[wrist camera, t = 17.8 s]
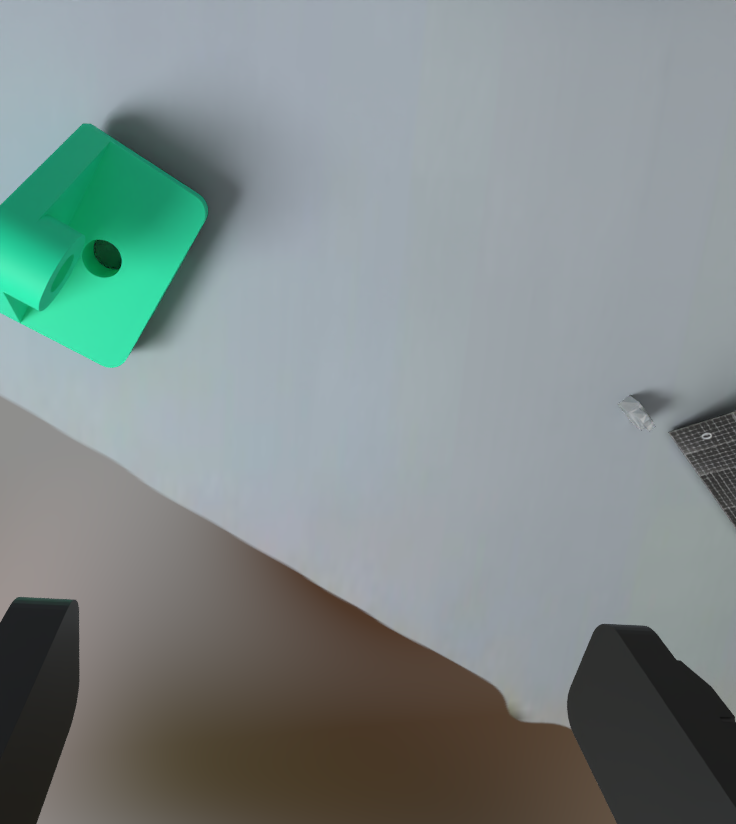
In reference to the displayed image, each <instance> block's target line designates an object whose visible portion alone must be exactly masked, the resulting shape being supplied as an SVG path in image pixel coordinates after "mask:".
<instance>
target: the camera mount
mask: <svg viewBox="0 0 736 824" xmlns="http://www.w3.org/2000/svg"><path fill="white" fill-rule="evenodd" d="M207 216H208V206H207V204H206V201H205V200H204V198H203V197H202V196H201V195H200V194H198V193H197V192H195V191H194V190H192V189H190V188H189V187H187V186H186V185H184V184H183V183H181V182H180V181H178V180H177V179H175V178H174V177H172V176H170V175H169V174H167V173H166V172H164V171H163V170H161V169H160V168H158V167H157V166H155V165H154V164H152V163H150V162H149V161H147V160H146V159H144V158H143V157H141V156H140V155H138V154H137V153H135V152H134V151H132V150H130V149H129V148H127V147H126V146H124V145H123V144H121V143H120V142H118V141H117V140H115V139H114V138H112V137H111V136H109V135H107V134H106V133H104V132H103V131H101V130H100V129H98V128H97V127H95V126H94V125H92V124H82V125H81V126H80V127H79V128H78V129H77V130H76V131H75V132H74V133H73V134H72V135H71V136H70V137H69V138H68V139H67V140H66V141H65V142H64V143H63V144H62V145H61V146H60V147H59V148H58V149H57V150H56V151H55V152H54V153H53V154H52V155H51V156H50V157H49V158H48V159H47V160H46V161H45V162H44V163H43V164H42V165H41V166H40V167H39V168H38V169H37V170H36V171H35V172H34V173H33V174H32V175H31V176H29V177H28V178H27V179H26V180H25V181H24V182H23V183H22V184H21V185H20V186H19V187H18V188H17V189H16V190H15V191H14V192H13V193H12V194H11V195H10V196H9V197H8V198H7V199H6V200H5V201H4V202H3V203H2V204H1V205H0V313H2V314H4V315H6V316H7V317H9V318H11V319H13V320H15V321H17V322H19V323H21V324H23V325H25V326H27V327H29V328H31V329H33V330H35V331H36V332H38V333H40V334H42V335H44V336H46V337H48V338H50V339H52V340H54V341H56V342H58V343H60V344H62V345H63V346H65V347H67V348H69V349H71V350H73V351H75V352H77V353H79V354H81V355H83V356H85V357H87V358H89V359H90V360H92V361H94V362H96V363H98V364H100V365H102V366H105V367H110V368H113V367H118V366H120V365H122V364H123V363H124V362H125V360H126V359H127V357H128V356H129V354H130V353H131V351H132V350H133V348H134V346H135V344H136V343H137V341H138V339H139V337H140V336H141V334H142V332H143V330H144V328H145V327H146V325H147V323H148V321H149V320H150V318H151V317H152V315H153V313H154V312H155V310H156V308H157V306H158V305H159V303H160V301H161V299H162V298H163V296H164V294H165V292H166V291H167V289H168V287H169V285H170V283H171V282H172V280H173V278H174V276H175V275H176V273H177V271H178V269H179V268H180V266H181V264H182V262H183V261H184V259H185V257H186V255H187V253H188V251H189V249H190V247H191V246H192V244H193V242H194V240H195V238H196V237H197V235H198V233H199V231H200V230H201V228H202V226H203V224H204V223H205V221H206V219H207ZM96 240H105V241H108V242H110V243H111V244H113V245H114V246H115V247H116V248H117V249H118V251H119V252H120V255H121V258H122V264H121V268H120V269H109V268H107V267H105V266H103V265H102V264H100V263H99V261H98V260H97V259H96V257H95V254H94V243H95V241H96Z"/></svg>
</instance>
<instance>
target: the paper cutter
mask: <svg viewBox="0 0 736 824" xmlns="http://www.w3.org/2000/svg"><path fill="white" fill-rule="evenodd" d="M618 405H619V407H620V408H621V409H622V411H623V412H624V413H625V415H626V416H627V418H628V419H629V420H630V422H631V423H632V424H634V425H635V426H636V427H637V428H638V429H640V430H641V431H642V430H643V429H644V428H646V429H647V430H648V431H649V432H650V431H651V430H652V429H654V428H655V427H656V426H655V424H654V423H653V420H652V419H651V418H650V416H649V415H648V413H647V412H646V411H645V409H644V408H643V406H642V405H641V404H640V403H639V402H638V401H637V400H635V399H634V398H633V397H631V396H630V395H629V396H628V397H627V398H625V399H624V400H623V401H621V402H620V403H619V404H618ZM669 434H670V435H671V437H672V438H673V440H674V441H675V443H676V444H677V445H678V447H679V448H680V450H681V451H682V453H683V454H684V455H685V457H686V458H687V460H688V461H689V462H690V464H691V465H692V467H693V468H694V469H695V471H696V472H697V474H698V475H699V477H700V478H701V479H702V481H703V482H704V484H705V485H706V486H707V488H708V489H709V491H710V492H711V494H712V495H713V496H714V498H715V499H716V501H717V502H718V503H719V505H720V506H721V508H722V509H723V510H724V512H725V513H726V515H727V516H728V518H729V519H730V520H731V522H732V523H733V525H734V526H735V527H736V411H733V412H731V413H727V414H724V415H721V416H718V417H715V418H711V419H708V420H705V421H702V422H699V423H696V424H692V425H689V426H686V427H683V428H680V429H677V430H673V431H670V432H669Z"/></svg>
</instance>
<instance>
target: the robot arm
mask: <svg viewBox="0 0 736 824" xmlns="http://www.w3.org/2000/svg"><path fill="white" fill-rule="evenodd" d="M78 689H79V607H78V602H77V601H76V600H69V599H49V598H28V597H18V598H16V599H15V600H14V601H13V602H12V604H11V605H10V607H9V609H8V610H7V612H6V614H5V615H4V617H3V619H2V621H1V622H0V824H36V823H37V820H38V818H39V815H40V812H41V809H42V806H43V804H44V801H45V798H46V795H47V792H48V789H49V786H50V784H51V781H52V778H53V775H54V772H55V770H56V767H57V764H58V761H59V758H60V755H61V753H62V750H63V747H64V744H65V741H66V738H67V735H68V733H69V730H70V727H71V723H72V720H73V716H74V712H75V708H76V703H77V697H78ZM567 710H568V718H569V722H570V726H571V729H572V731H573V734H574V736H575V738H576V740H577V742H578V744H579V746H580V748H581V750H582V752H583V754H584V756H585V759H586V760H587V763H588V765H589V767H590V769H591V771H592V773H593V775H594V777H595V779H596V781H597V783H598V785H599V787H600V789H601V791H602V793H603V795H604V798H605V800H606V802H607V804H608V806H609V808H610V810H611V812H612V814H613V816H614V818H615V820H616V822H617V824H736V722H735V717H734V715H733V714H732V713H731V711H730V710H729V709H728V708H727V706H726V705H725V704H724V702H723V701H722V700H721V699H720V697H719V696H718V695H717V693H716V692H715V691H714V689H713V688H712V687H711V686H710V685H709V684H707V683H706V682H705V681H704V680H703V679H702V678H700V677H699V676H698V675H697V674H696V673H694V672H693V671H692V670H691V669H690V668H688V667H687V666H686V665H685V664H684V663H683V662H681V661H679V660H676V659H675V658H674V656H673V655H672V654H671V652H670V651H669V650H668V648H667V647H666V646H665V644H664V643H663V642H662V640H661V639H660V638H659V636H658V635H657V634H656V633H655V632H654V631H653V630H652V629H651V628H649V627H647V626H637V625H617V624H601V625H599V626H598V627H597V628H596V629H595V630H594V632H593V634H592V637H591V639H590V641H589V644H588V646H587V649H586V651H585V653H584V656H583V658H582V661H581V663H580V665H579V668H578V670H577V673H576V675H575V677H574V680H573V682H572V685H571V687H570V690H569V693H568V700H567Z"/></svg>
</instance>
